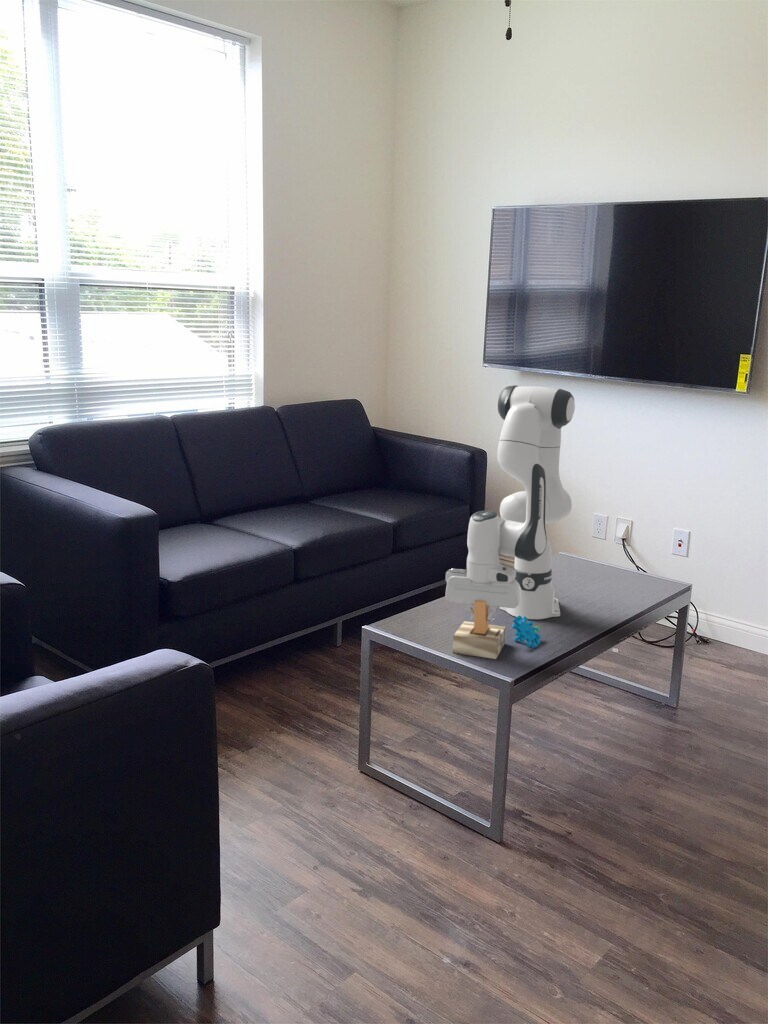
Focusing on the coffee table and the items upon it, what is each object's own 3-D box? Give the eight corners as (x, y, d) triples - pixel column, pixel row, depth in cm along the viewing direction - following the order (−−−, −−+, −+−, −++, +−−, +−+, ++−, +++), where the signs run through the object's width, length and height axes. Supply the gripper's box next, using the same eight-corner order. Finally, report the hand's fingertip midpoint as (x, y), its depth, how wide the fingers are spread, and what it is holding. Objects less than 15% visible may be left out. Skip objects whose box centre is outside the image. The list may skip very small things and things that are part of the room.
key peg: (474, 632, 236) (474, 601, 234) (477, 626, 241) (478, 595, 239) (484, 633, 235) (485, 602, 234) (488, 627, 240) (489, 596, 238)
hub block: (463, 637, 247) (464, 620, 246) (504, 643, 244) (505, 626, 242) (452, 652, 236) (453, 634, 235) (495, 659, 232) (496, 640, 231)
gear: (526, 647, 237) (509, 615, 241) (512, 657, 240) (496, 626, 244) (550, 643, 244) (533, 612, 248) (536, 653, 248) (519, 622, 252)
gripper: (442, 570, 235) (442, 619, 238) (517, 577, 229) (516, 627, 232) (448, 564, 241) (447, 612, 244) (521, 571, 235) (520, 619, 237)
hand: (481, 619), depth 238 cm, fingers closed on key peg, 3 cm apart
